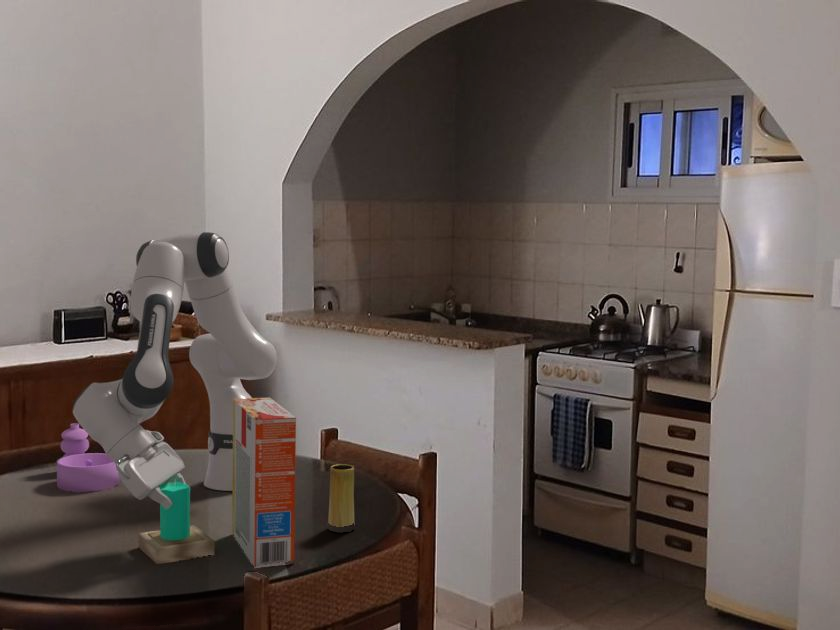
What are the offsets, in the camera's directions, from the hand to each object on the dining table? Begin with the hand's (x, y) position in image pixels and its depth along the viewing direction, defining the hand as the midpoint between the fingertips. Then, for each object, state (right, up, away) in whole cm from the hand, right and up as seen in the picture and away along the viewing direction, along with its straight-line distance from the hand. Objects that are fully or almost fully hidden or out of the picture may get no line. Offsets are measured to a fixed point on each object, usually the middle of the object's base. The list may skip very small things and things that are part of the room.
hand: (179, 499), depth 209 cm
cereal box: (+16, -11, +4) cm, 20 cm away
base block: (-1, -11, +1) cm, 11 cm away
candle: (-1, -8, +1) cm, 8 cm away
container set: (-38, -5, +55) cm, 67 cm away
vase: (+32, -10, +18) cm, 38 cm away
